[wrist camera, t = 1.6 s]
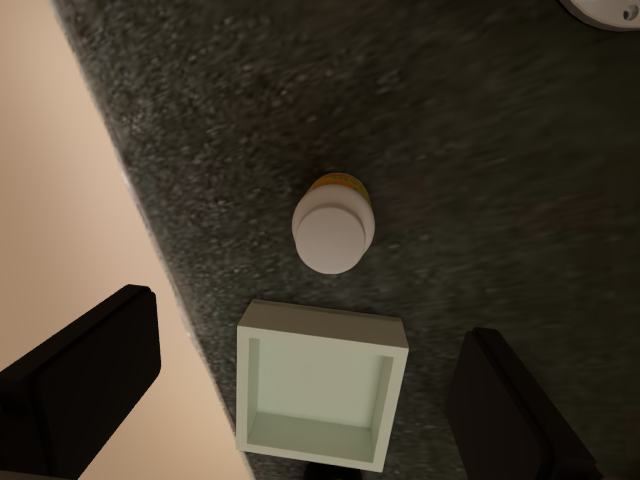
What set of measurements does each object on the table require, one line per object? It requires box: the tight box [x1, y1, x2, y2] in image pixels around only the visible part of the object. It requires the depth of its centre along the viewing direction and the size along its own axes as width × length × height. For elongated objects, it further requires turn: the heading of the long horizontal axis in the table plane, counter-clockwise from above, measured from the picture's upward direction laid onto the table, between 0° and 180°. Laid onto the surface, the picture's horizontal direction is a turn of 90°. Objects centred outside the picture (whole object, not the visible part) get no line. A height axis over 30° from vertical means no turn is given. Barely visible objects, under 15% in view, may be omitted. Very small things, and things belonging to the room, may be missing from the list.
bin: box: [236, 299, 409, 472], centre depth 31 cm, size 14×14×4 cm
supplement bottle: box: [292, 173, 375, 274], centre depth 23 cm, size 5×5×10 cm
